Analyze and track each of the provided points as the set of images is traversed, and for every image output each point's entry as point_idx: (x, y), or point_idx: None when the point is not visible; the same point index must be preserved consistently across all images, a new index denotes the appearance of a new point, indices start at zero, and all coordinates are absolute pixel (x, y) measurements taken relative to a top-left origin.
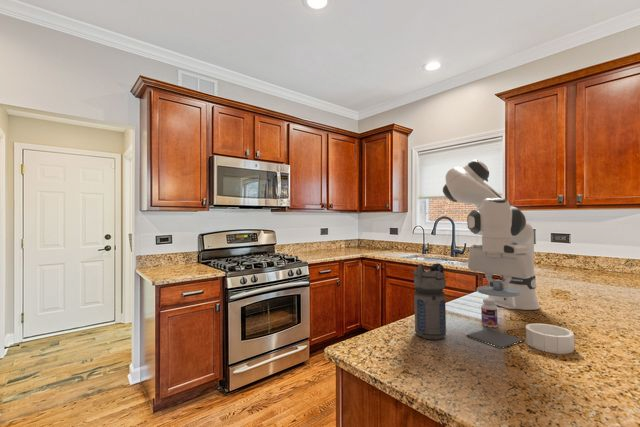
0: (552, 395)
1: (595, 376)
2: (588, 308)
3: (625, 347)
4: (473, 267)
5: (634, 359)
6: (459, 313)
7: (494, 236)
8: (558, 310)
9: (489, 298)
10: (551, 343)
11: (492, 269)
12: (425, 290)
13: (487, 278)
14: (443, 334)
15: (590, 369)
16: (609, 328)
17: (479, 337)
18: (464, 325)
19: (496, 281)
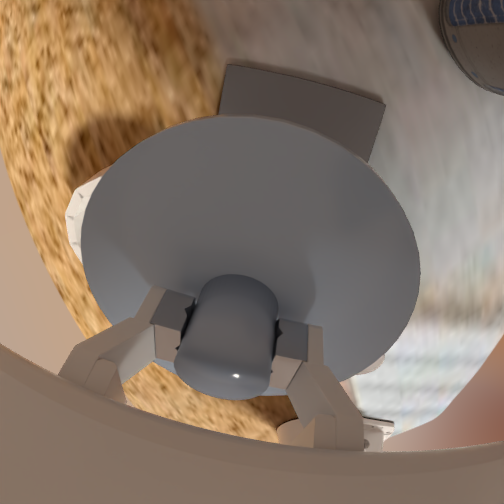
0: None
1: (24, 99)
2: None
3: (76, 309)
4: (491, 477)
5: (40, 255)
6: (450, 326)
7: None
8: (245, 432)
9: (360, 372)
10: (100, 173)
11: (223, 496)
12: None
13: (333, 391)
14: (440, 9)
15: (39, 129)
16: (142, 386)
17: (334, 106)
18: (425, 227)
19: (210, 344)
